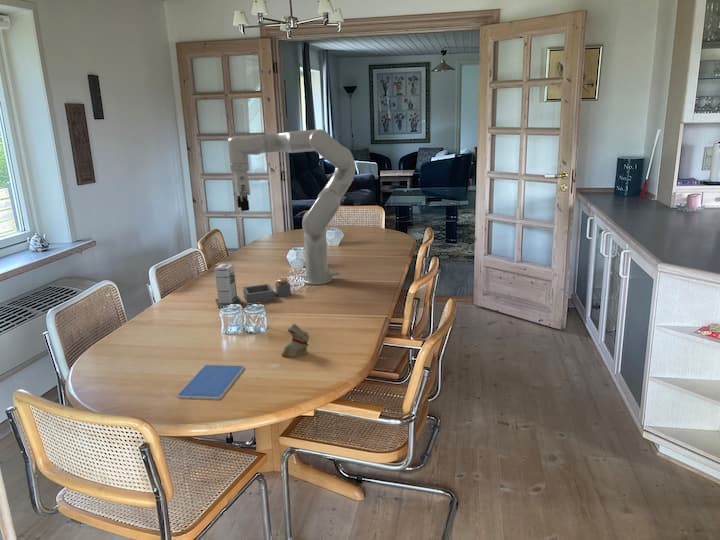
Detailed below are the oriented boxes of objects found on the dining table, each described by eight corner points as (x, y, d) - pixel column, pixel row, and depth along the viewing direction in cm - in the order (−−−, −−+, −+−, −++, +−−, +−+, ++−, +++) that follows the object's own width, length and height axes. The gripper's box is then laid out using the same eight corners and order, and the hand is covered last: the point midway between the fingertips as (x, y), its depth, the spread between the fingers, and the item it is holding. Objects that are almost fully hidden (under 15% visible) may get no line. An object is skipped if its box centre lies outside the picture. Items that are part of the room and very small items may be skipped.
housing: (286, 290, 238) (285, 279, 237) (292, 297, 228) (291, 286, 227) (243, 296, 232) (242, 284, 231) (247, 304, 223) (246, 292, 221)
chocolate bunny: (306, 358, 172) (303, 327, 169) (280, 357, 173) (278, 326, 170) (310, 350, 177) (308, 320, 174) (286, 350, 178) (283, 319, 176)
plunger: (287, 291, 235) (286, 277, 233) (289, 294, 231) (288, 280, 229) (277, 292, 233) (276, 278, 232) (279, 295, 230) (278, 281, 228)
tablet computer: (220, 401, 148) (220, 397, 148) (175, 400, 150) (174, 395, 150) (245, 369, 167) (245, 365, 167) (205, 368, 169) (204, 364, 168)
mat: (238, 297, 232) (238, 295, 232) (242, 305, 222) (242, 303, 222) (215, 300, 229) (215, 298, 229) (218, 308, 219) (218, 307, 219)
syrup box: (232, 303, 222) (228, 267, 218) (217, 303, 223) (213, 267, 219) (237, 299, 228) (234, 263, 224) (223, 298, 229) (219, 263, 225)
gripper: (252, 168, 228) (255, 211, 233) (245, 165, 244) (249, 205, 249) (233, 170, 226) (237, 212, 230) (227, 166, 242) (231, 206, 246)
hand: (243, 208), depth 239 cm, fingers open, 9 cm apart
